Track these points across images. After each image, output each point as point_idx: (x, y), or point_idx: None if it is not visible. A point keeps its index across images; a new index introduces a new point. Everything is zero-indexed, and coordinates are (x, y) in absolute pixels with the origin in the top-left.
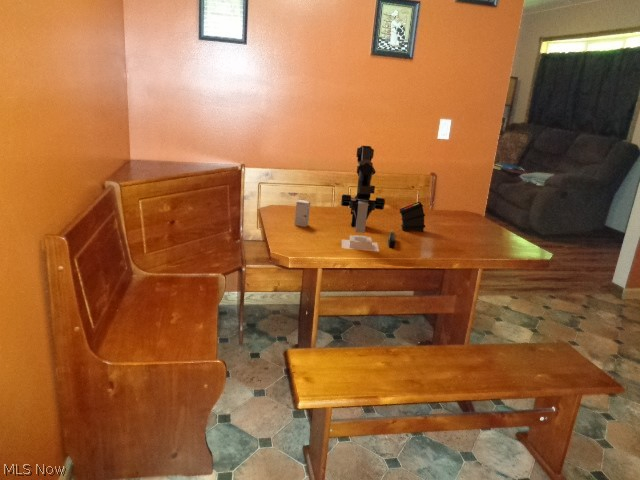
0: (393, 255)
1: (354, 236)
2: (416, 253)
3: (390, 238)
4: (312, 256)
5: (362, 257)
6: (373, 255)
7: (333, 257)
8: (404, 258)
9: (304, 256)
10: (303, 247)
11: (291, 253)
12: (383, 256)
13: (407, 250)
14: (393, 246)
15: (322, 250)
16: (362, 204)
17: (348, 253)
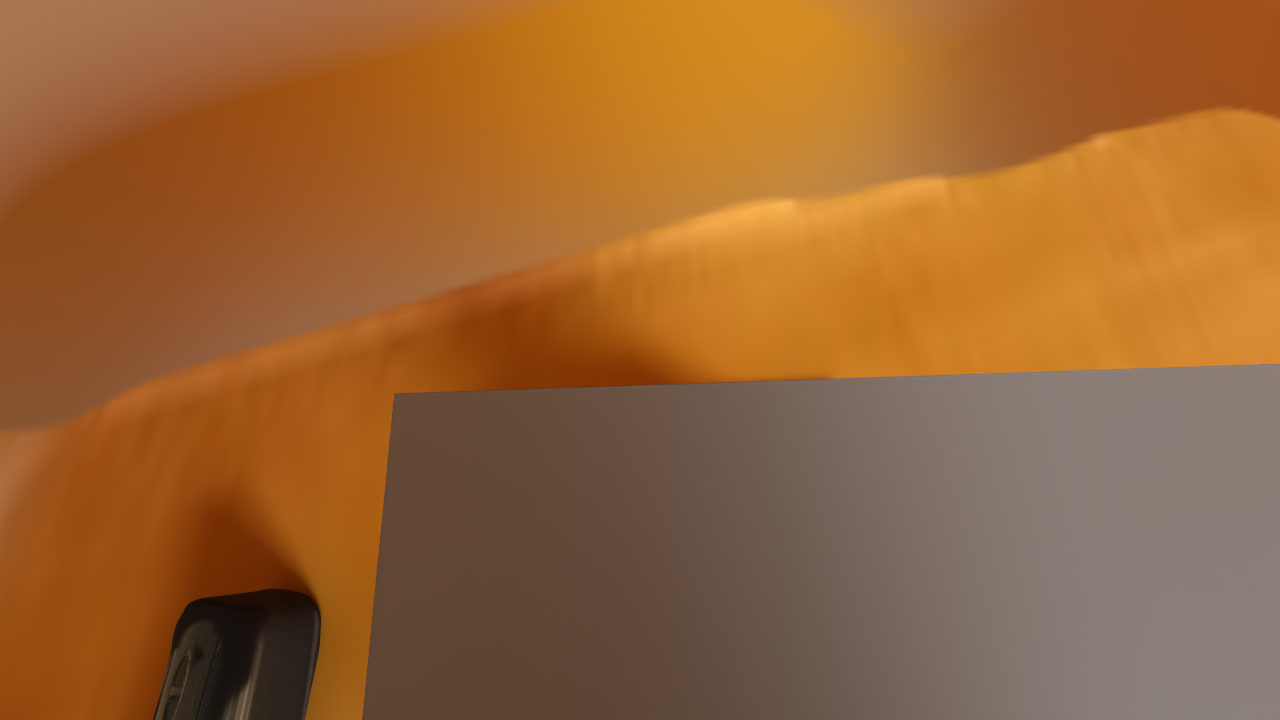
0: (311, 422)
1: None
2: (26, 573)
3: (216, 709)
4: (1070, 161)
5: (628, 272)
6: (519, 357)
7: (888, 193)
8: (217, 371)
9: (1135, 141)
10: (1244, 362)
11: (1272, 173)
12: (421, 361)
13: (99, 651)
14: (247, 593)
15: (1033, 337)
16: (874, 398)
17: (767, 335)
